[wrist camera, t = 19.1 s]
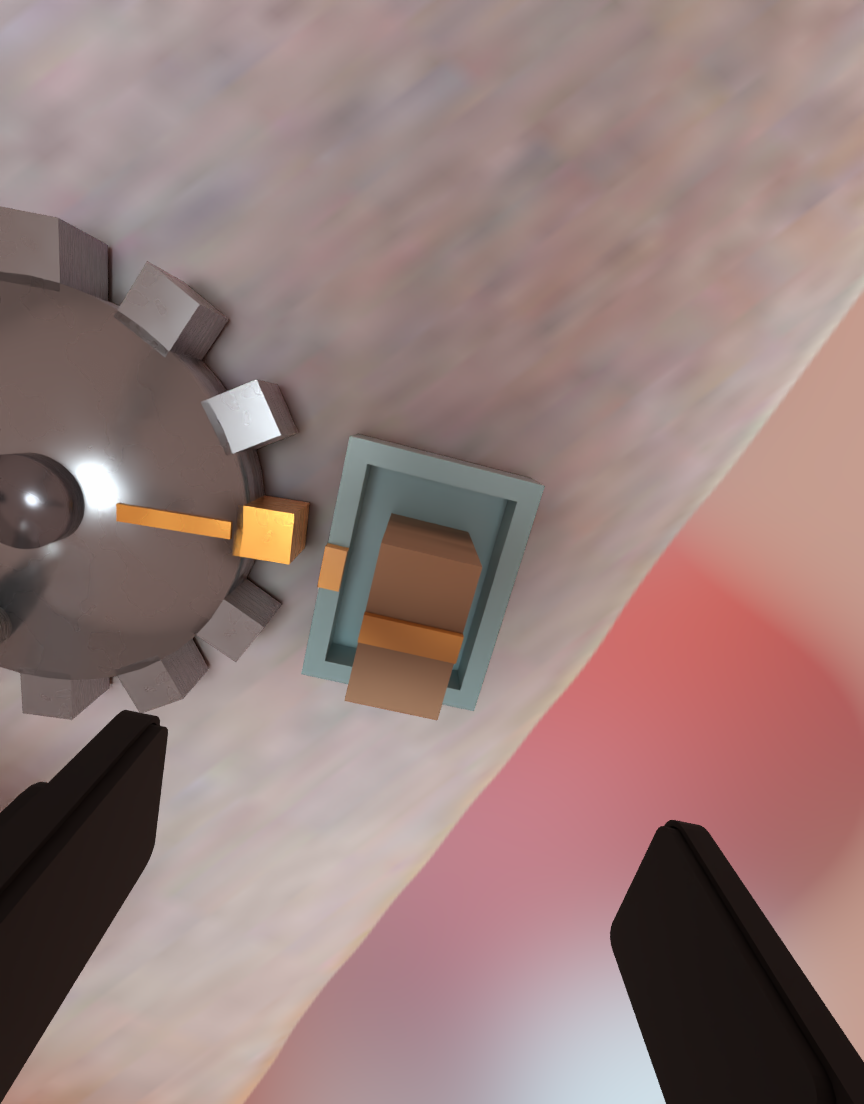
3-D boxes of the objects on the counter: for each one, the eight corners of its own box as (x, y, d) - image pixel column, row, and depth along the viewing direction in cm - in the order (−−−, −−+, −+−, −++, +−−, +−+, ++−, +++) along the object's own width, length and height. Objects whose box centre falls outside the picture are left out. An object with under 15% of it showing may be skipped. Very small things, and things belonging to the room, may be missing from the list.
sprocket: (-190, 187, 21) (-470, 81, 14) (332, 288, 22) (294, 234, 16) (-123, 655, 26) (-299, 731, 20) (287, 712, 28) (245, 801, 21)
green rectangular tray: (358, 433, 24) (347, 436, 21) (530, 477, 25) (548, 487, 21) (314, 646, 27) (298, 680, 24) (468, 680, 28) (474, 718, 24)
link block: (391, 513, 24) (380, 545, 18) (468, 532, 24) (483, 569, 18) (361, 637, 26) (342, 704, 20) (434, 653, 26) (437, 724, 20)
